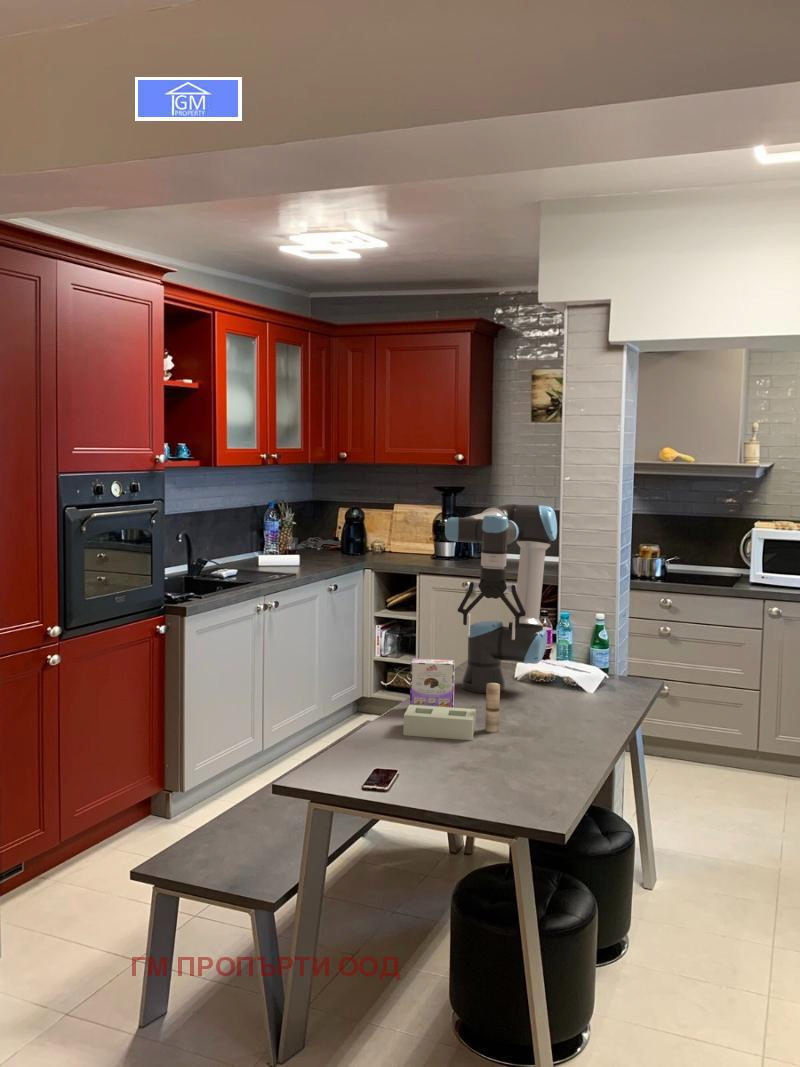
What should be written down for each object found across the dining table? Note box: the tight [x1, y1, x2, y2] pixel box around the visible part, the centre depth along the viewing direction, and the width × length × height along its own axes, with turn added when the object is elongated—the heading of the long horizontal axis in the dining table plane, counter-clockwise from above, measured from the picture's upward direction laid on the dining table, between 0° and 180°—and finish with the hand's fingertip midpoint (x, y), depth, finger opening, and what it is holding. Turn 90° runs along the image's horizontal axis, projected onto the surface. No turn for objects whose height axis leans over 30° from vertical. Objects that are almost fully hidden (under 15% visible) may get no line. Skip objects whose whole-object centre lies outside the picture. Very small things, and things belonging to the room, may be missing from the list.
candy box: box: [409, 658, 455, 708], centre depth 300 cm, size 14×6×16 cm, turn 84°
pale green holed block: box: [402, 704, 477, 741], centre depth 281 cm, size 11×20×6 cm, turn 81°
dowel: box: [484, 683, 501, 734], centre depth 283 cm, size 4×4×14 cm
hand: (490, 637), depth 286 cm, fingers open, 13 cm apart
